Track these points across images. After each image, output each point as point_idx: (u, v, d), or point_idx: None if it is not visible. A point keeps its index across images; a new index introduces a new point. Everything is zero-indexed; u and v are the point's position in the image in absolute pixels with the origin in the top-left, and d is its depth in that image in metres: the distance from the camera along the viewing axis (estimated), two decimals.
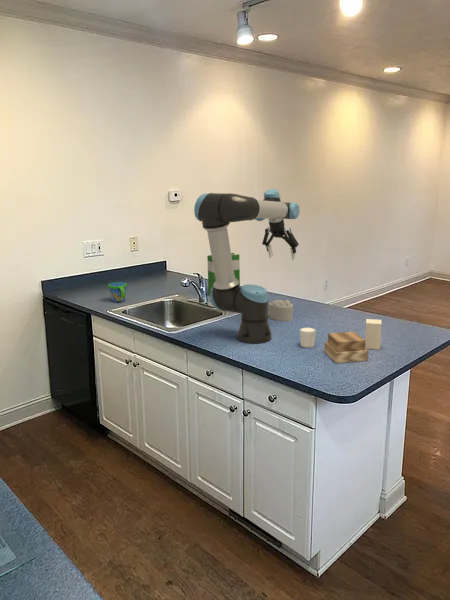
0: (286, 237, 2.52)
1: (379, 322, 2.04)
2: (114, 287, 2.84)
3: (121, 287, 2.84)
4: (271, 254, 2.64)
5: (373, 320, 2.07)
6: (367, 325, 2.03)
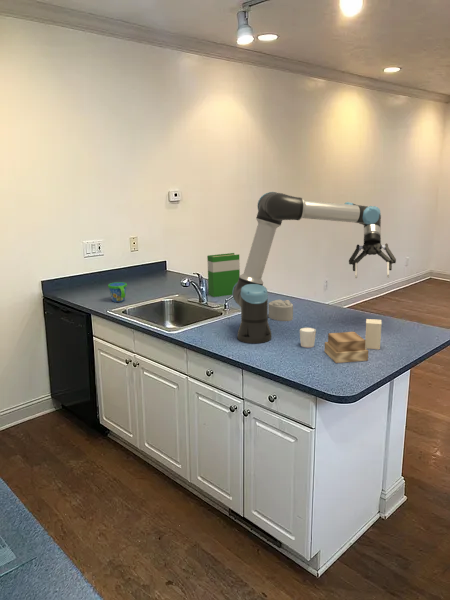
0: None
1: (379, 322, 2.04)
2: (114, 287, 2.84)
3: (121, 287, 2.84)
4: None
5: (373, 320, 2.07)
6: (367, 325, 2.03)
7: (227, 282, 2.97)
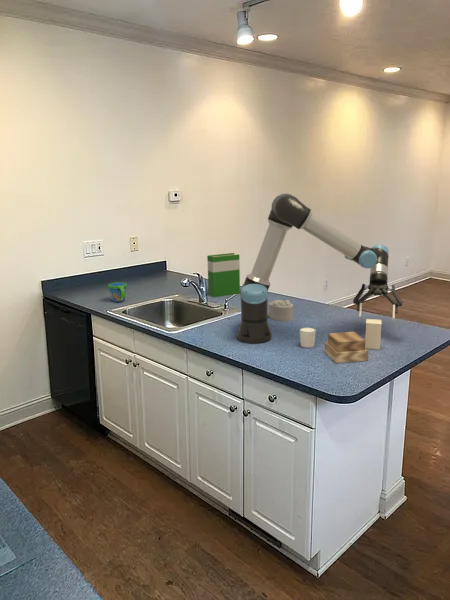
0: None
1: (379, 322, 2.04)
2: (114, 287, 2.84)
3: (121, 287, 2.84)
4: None
5: (373, 320, 2.07)
6: (367, 325, 2.03)
7: (227, 282, 2.97)
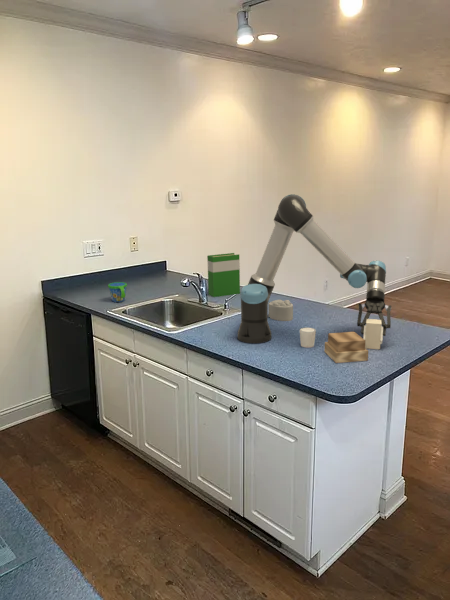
0: None
1: (379, 322, 2.04)
2: (114, 287, 2.84)
3: (121, 287, 2.84)
4: None
5: (373, 320, 2.07)
6: (367, 325, 2.03)
7: (227, 282, 2.97)
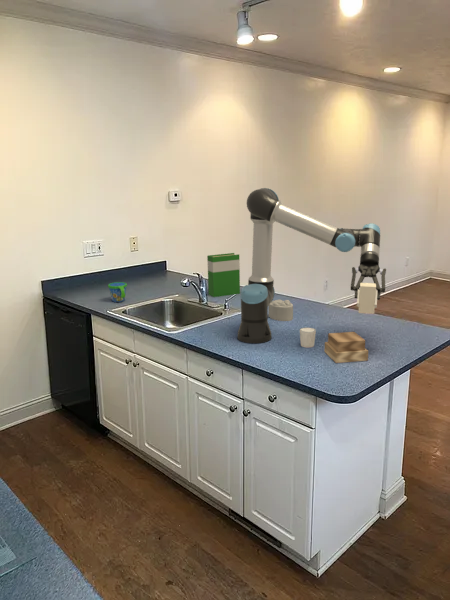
0: None
1: (374, 285, 1.95)
2: (114, 287, 2.84)
3: (121, 287, 2.84)
4: None
5: (367, 283, 1.98)
6: (361, 288, 1.95)
7: (227, 282, 2.97)
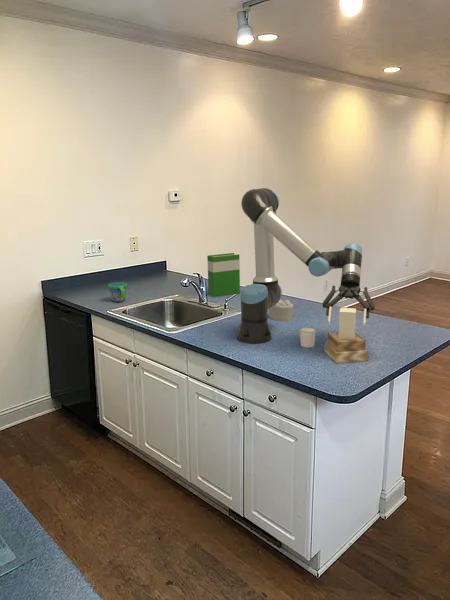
0: None
1: (353, 311, 1.92)
2: (114, 287, 2.84)
3: (121, 287, 2.84)
4: (330, 320, 1.95)
5: (347, 309, 1.95)
6: (340, 314, 1.92)
7: (227, 282, 2.97)
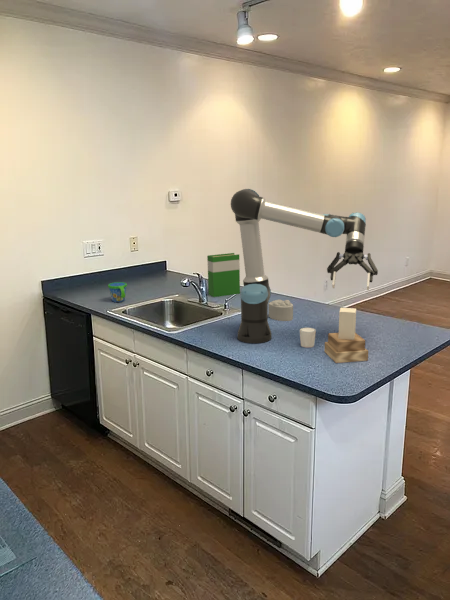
0: None
1: (353, 311, 1.92)
2: (114, 287, 2.84)
3: (121, 287, 2.84)
4: (334, 284, 2.03)
5: (347, 309, 1.95)
6: (340, 314, 1.92)
7: (227, 282, 2.97)
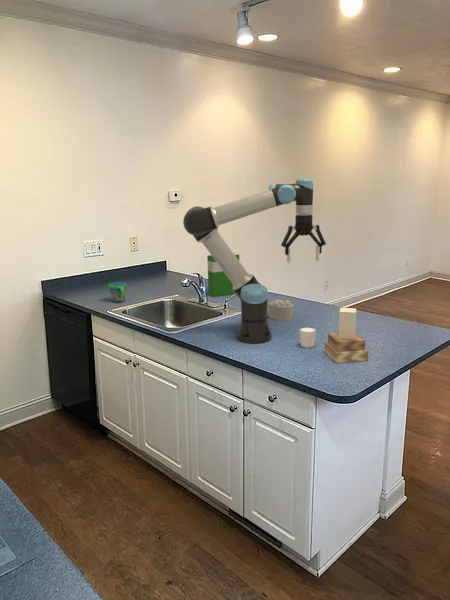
0: None
1: (353, 311, 1.92)
2: (114, 287, 2.84)
3: (121, 287, 2.84)
4: None
5: (347, 309, 1.95)
6: (340, 314, 1.92)
7: (227, 282, 2.97)
